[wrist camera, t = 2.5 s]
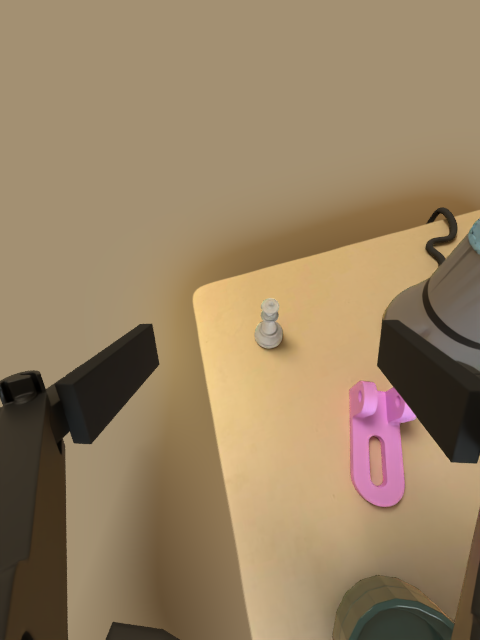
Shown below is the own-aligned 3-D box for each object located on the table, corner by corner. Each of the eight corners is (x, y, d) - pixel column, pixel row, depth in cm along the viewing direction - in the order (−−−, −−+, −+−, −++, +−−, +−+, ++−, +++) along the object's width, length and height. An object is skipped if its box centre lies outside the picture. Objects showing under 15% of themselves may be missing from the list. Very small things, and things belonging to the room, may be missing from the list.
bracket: (349, 389, 37) (363, 377, 30) (392, 395, 36) (416, 383, 29) (350, 498, 31) (368, 511, 25) (401, 509, 30) (433, 524, 24)
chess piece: (288, 335, 41) (295, 300, 33) (269, 354, 40) (272, 323, 31) (267, 319, 43) (268, 282, 34) (249, 337, 42) (245, 303, 33)
